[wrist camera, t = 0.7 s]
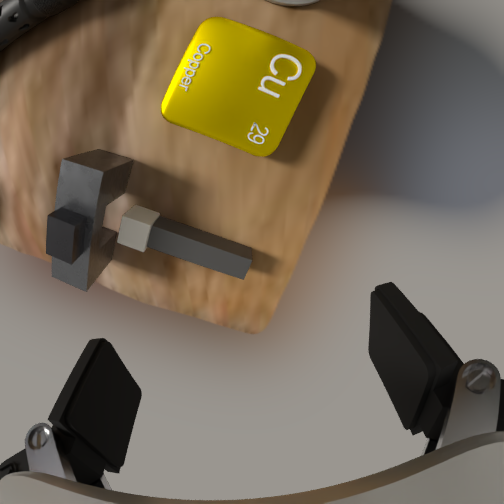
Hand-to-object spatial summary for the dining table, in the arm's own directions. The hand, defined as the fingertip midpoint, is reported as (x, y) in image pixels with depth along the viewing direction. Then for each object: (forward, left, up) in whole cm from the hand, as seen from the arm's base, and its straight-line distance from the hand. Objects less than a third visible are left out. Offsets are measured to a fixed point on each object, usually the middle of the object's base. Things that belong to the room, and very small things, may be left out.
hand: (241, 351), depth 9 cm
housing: (+11, -18, -31) cm, 37 cm away
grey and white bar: (+11, -4, -31) cm, 33 cm away
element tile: (-11, -5, -31) cm, 34 cm away
